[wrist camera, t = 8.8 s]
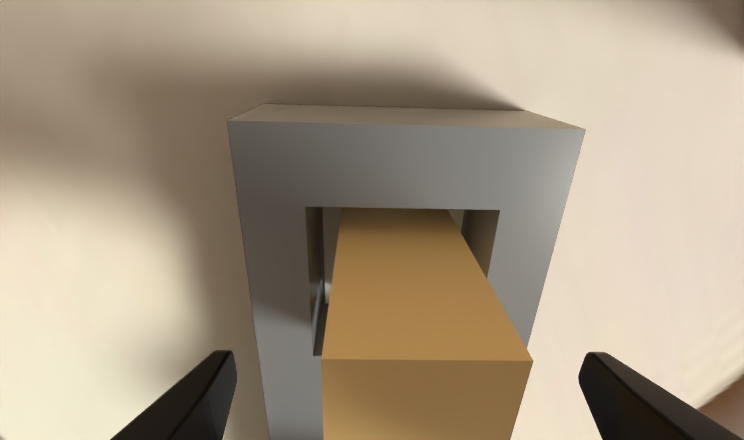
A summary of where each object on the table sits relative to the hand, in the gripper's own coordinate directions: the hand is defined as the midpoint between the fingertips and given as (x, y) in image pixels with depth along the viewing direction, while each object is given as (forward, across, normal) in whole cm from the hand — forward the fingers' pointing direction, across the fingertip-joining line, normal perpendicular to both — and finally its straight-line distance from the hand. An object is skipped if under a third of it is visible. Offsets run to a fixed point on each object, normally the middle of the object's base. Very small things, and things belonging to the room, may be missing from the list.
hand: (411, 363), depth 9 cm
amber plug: (+6, 0, 0) cm, 6 cm away
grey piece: (+7, 0, +6) cm, 9 cm away
